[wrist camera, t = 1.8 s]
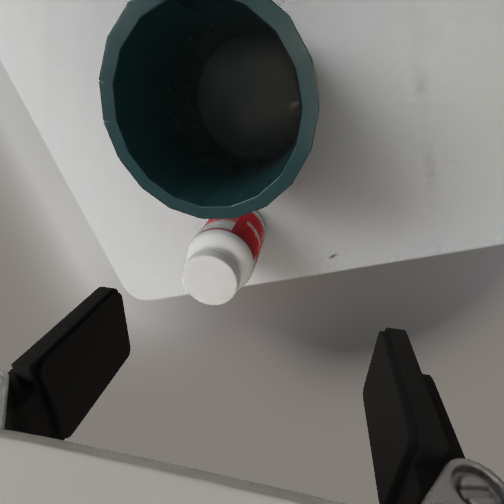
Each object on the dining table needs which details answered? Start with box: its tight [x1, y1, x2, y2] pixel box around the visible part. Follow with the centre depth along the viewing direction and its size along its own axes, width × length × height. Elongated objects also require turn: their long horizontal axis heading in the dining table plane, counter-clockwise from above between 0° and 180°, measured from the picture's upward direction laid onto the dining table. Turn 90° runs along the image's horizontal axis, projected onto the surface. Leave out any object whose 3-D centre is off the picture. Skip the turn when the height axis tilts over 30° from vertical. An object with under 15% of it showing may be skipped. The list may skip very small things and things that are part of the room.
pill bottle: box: [182, 211, 265, 305], centre depth 31 cm, size 6×6×11 cm
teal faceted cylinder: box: [99, 0, 319, 219], centre depth 23 cm, size 12×12×14 cm
